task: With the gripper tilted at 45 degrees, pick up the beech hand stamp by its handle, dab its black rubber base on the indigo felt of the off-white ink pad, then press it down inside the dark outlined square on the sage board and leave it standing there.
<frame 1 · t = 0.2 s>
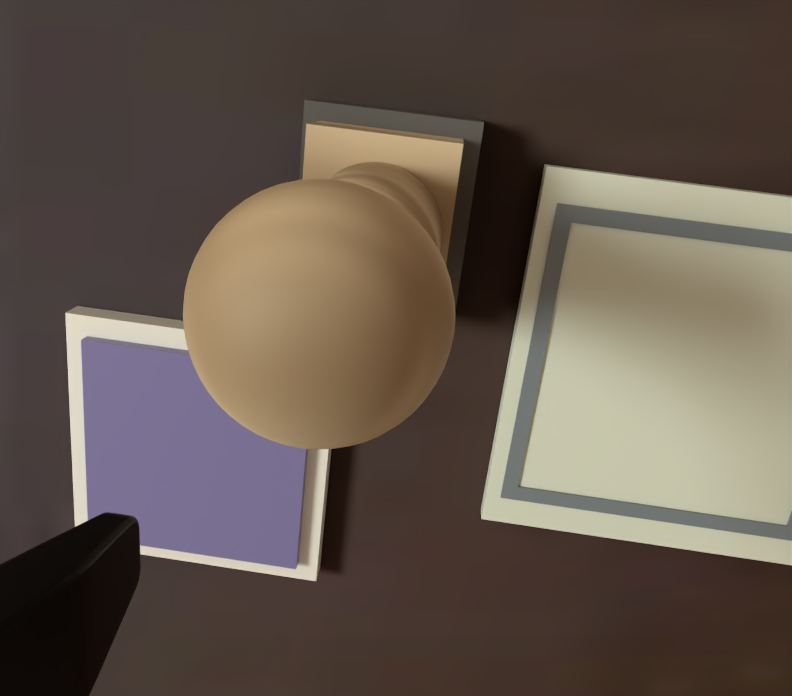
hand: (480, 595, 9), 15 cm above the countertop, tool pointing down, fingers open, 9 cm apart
hand stamp: (387, 211, 22), on the countertop
marked board: (679, 375, 23), on the countertop
ink pad: (205, 443, 25), on the countertop
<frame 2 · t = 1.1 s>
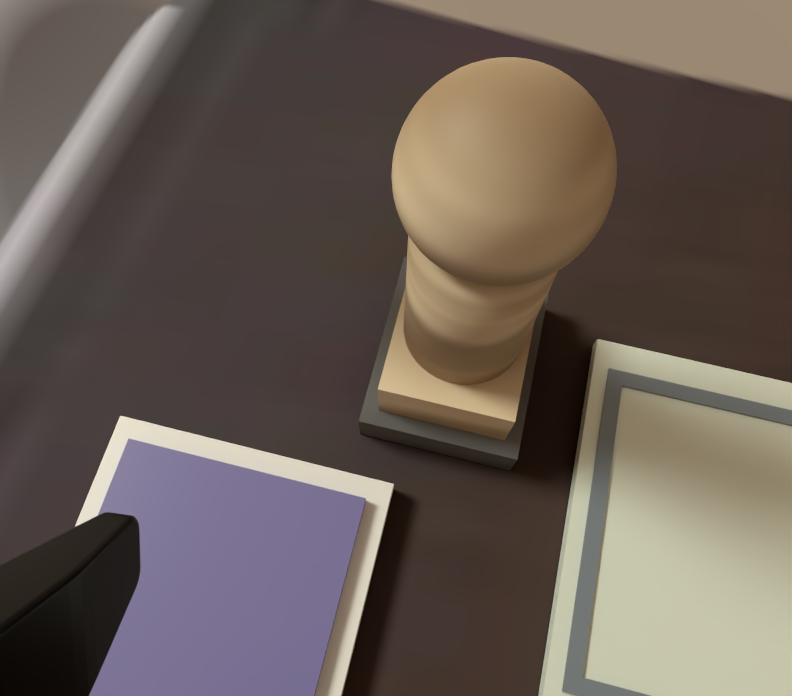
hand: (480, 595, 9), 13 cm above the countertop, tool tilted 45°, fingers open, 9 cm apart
hand stamp: (453, 368, 24), on the countertop
marked board: (741, 559, 22), on the countertop
ink pad: (212, 597, 22), on the countertop
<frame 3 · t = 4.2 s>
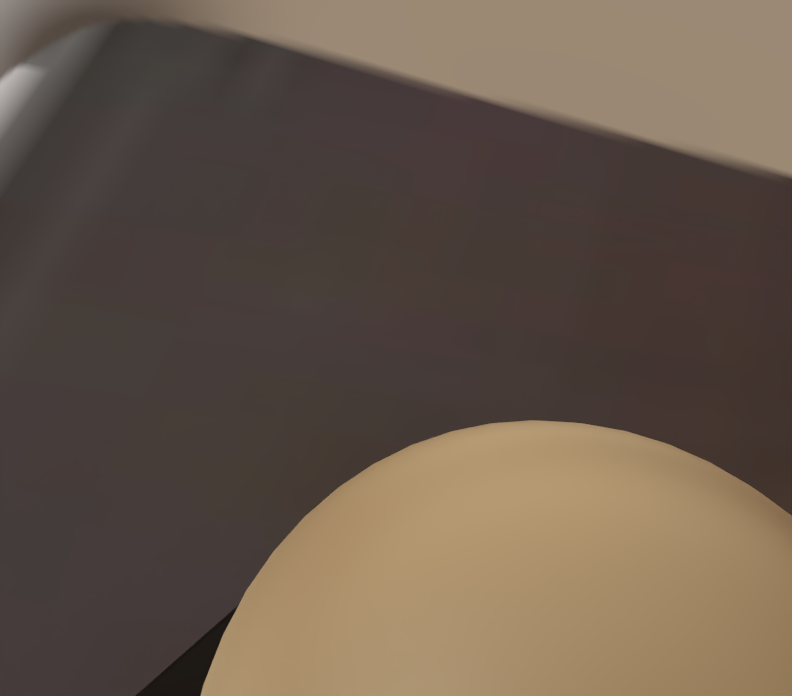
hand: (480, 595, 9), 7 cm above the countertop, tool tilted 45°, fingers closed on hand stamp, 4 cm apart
hand stamp: (433, 690, 15), on the countertop, touching gripper
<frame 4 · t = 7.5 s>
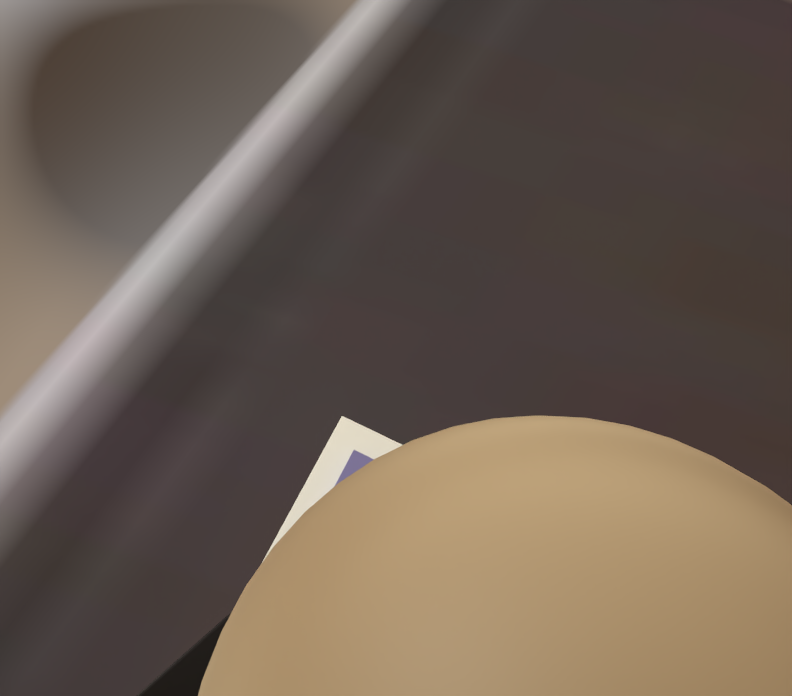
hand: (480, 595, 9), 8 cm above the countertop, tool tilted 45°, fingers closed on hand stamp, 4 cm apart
ink pad: (430, 690, 16), on the countertop
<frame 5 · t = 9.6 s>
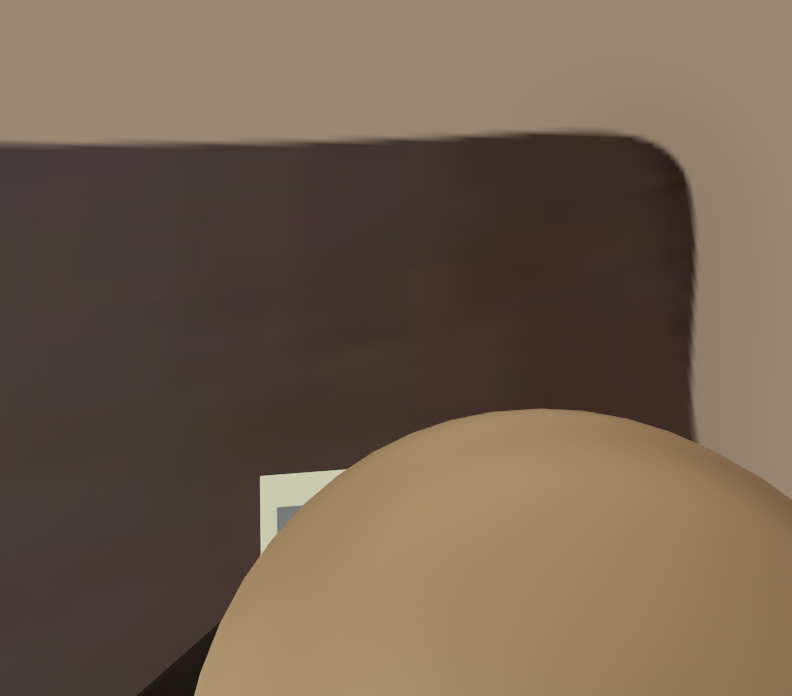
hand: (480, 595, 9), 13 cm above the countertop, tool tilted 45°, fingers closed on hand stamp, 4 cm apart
marked board: (461, 676, 20), on the countertop
when the fingers open (7 cm above the countertop, at t = 11.2 s): hand stamp stays where it is, resting on marked board.
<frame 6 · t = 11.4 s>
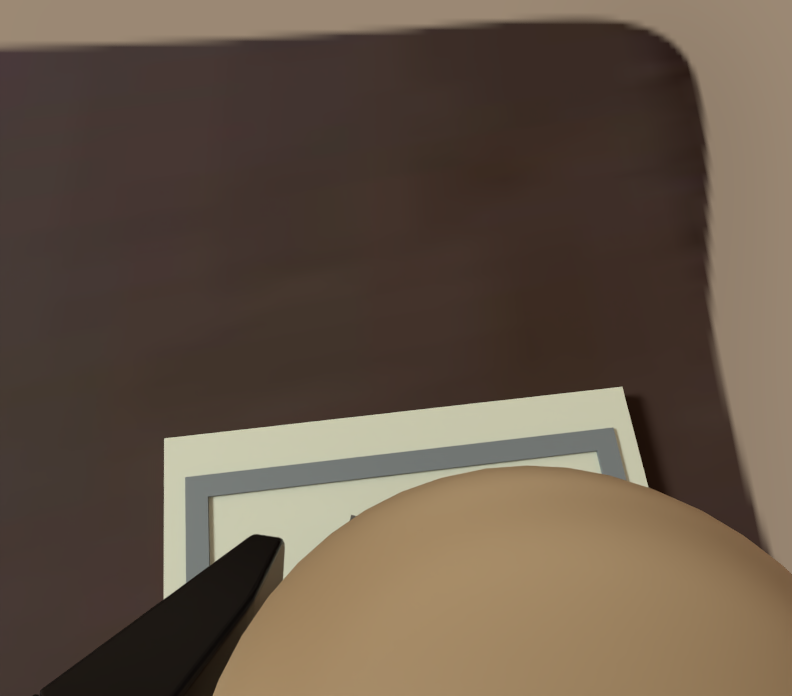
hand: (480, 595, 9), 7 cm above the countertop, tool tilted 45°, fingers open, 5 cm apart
marked board: (431, 687, 15), on the countertop
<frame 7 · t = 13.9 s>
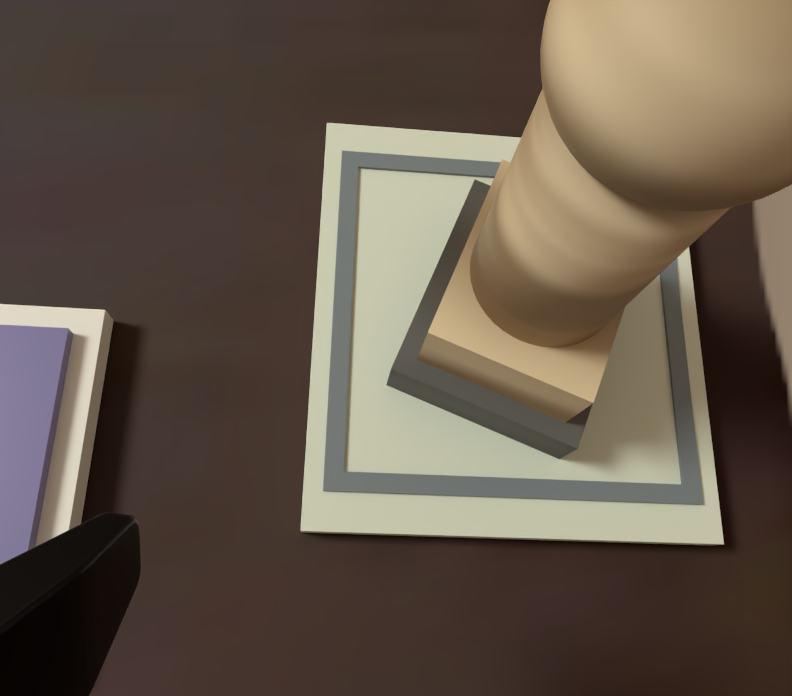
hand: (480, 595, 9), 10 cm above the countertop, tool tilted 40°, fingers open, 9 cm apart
hand stamp: (509, 326, 20), point 1 cm above the countertop, touching marked board
marked board: (505, 325, 21), on the countertop
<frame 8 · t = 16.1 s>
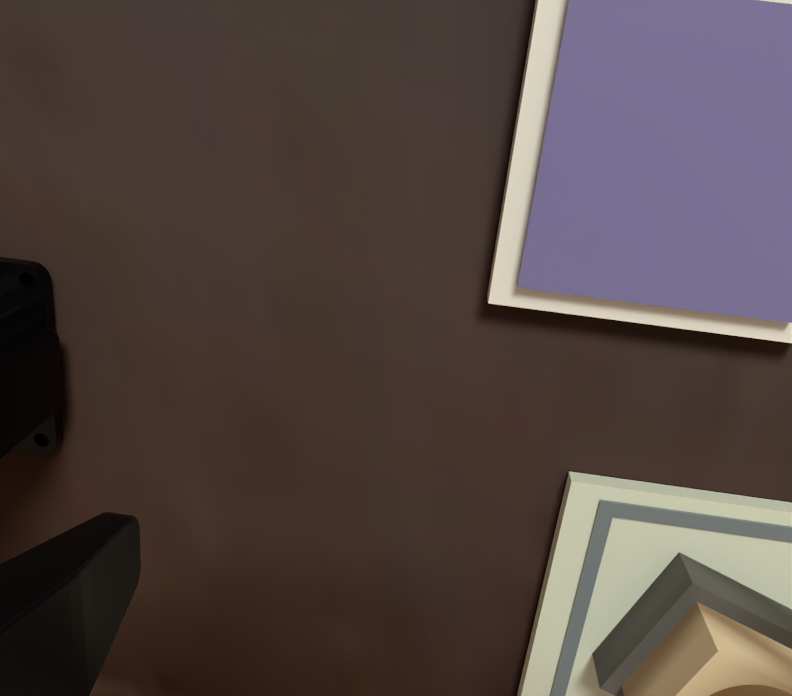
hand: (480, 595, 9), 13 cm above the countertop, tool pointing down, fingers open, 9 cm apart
hand stamp: (709, 642, 24), point 1 cm above the countertop, touching marked board
marked board: (710, 631, 25), on the countertop
ink pad: (680, 157, 19), on the countertop
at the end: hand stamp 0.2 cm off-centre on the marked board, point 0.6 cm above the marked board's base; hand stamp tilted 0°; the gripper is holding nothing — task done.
